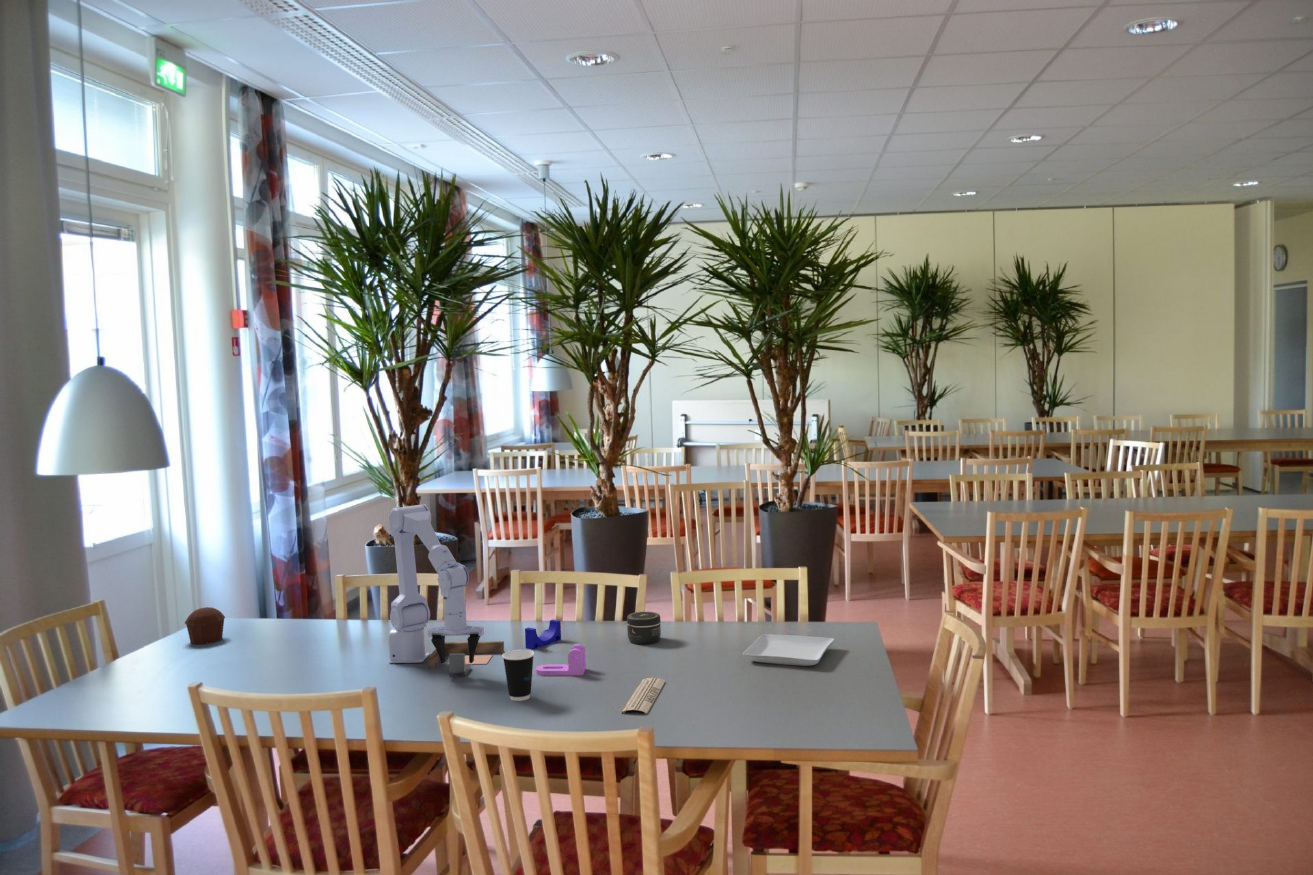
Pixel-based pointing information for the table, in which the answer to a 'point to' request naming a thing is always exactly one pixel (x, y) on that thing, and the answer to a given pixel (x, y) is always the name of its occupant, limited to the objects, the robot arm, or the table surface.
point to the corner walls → (466, 649)
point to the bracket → (572, 668)
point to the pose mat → (478, 659)
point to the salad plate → (788, 649)
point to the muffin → (205, 625)
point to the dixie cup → (519, 673)
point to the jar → (643, 627)
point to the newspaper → (644, 695)
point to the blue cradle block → (543, 635)
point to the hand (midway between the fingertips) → (457, 662)
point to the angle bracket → (458, 665)
